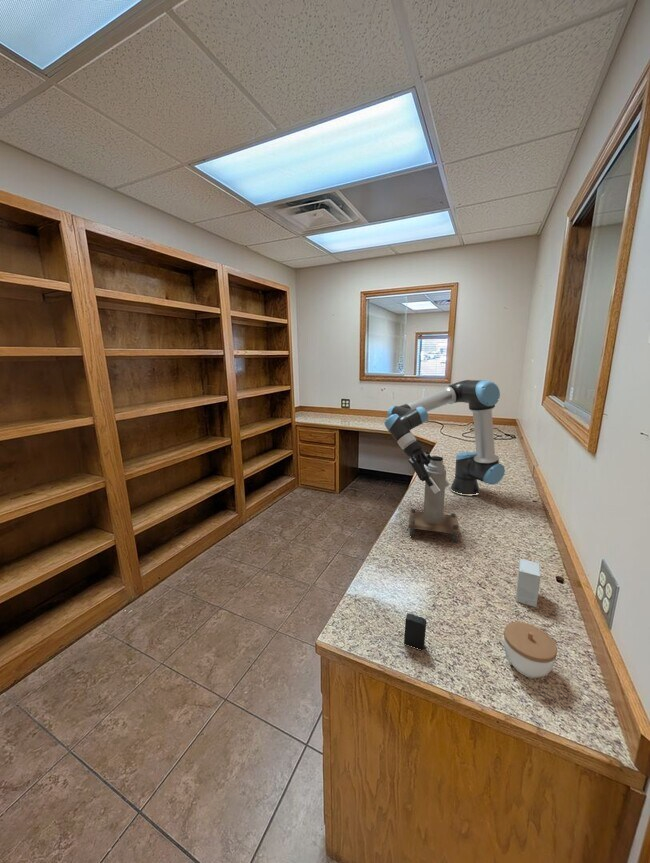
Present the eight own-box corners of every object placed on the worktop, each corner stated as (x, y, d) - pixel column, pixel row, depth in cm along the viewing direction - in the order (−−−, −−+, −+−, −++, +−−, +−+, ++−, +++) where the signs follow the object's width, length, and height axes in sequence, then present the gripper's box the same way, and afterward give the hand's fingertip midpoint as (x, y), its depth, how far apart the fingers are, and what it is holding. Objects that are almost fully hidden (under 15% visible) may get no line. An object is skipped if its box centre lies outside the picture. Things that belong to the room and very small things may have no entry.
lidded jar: (504, 678, 76) (508, 644, 74) (498, 642, 85) (501, 611, 84) (559, 694, 72) (565, 658, 70) (546, 655, 82) (551, 622, 80)
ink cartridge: (424, 644, 85) (426, 618, 83) (423, 651, 83) (425, 624, 81) (405, 638, 87) (407, 612, 85) (403, 644, 85) (405, 618, 83)
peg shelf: (455, 528, 145) (456, 513, 144) (458, 544, 132) (460, 528, 131) (409, 522, 151) (410, 507, 149) (408, 537, 138) (408, 521, 136)
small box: (536, 608, 97) (540, 576, 95) (515, 601, 100) (518, 570, 98) (536, 592, 104) (540, 563, 102) (516, 586, 107) (519, 557, 105)
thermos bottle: (428, 514, 146) (431, 453, 140) (445, 519, 141) (450, 456, 135) (420, 520, 140) (423, 457, 135) (437, 526, 135) (442, 461, 129)
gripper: (416, 445, 153) (447, 486, 145) (391, 454, 138) (424, 500, 130) (427, 436, 148) (460, 478, 140) (402, 444, 133) (437, 491, 125)
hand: (442, 488), depth 135 cm, fingers open, 9 cm apart
